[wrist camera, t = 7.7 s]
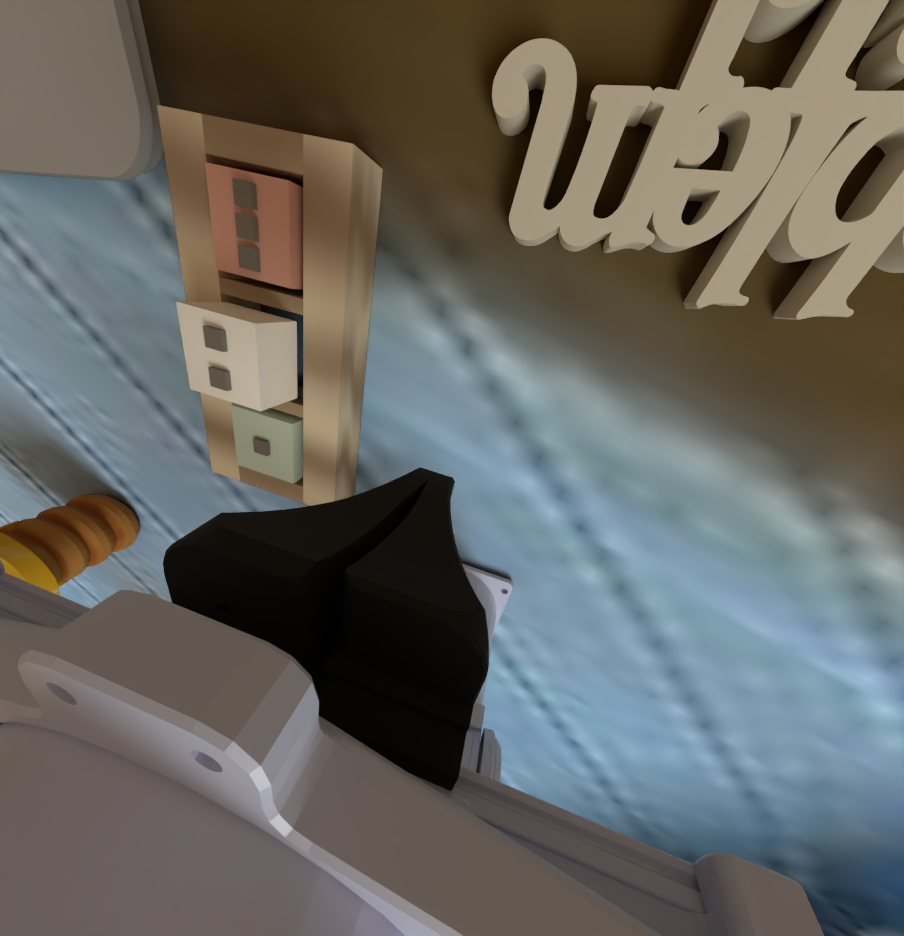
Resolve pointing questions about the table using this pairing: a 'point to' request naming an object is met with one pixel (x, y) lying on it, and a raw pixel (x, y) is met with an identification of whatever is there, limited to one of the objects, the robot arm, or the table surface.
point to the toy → (66, 540)
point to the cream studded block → (239, 353)
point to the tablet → (77, 90)
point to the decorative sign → (732, 152)
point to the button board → (324, 287)
